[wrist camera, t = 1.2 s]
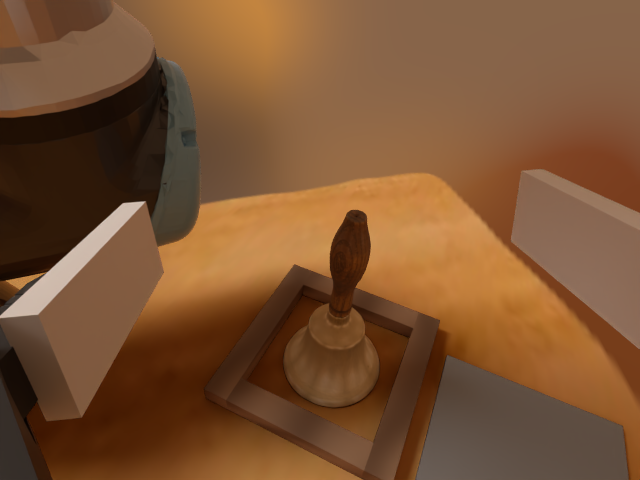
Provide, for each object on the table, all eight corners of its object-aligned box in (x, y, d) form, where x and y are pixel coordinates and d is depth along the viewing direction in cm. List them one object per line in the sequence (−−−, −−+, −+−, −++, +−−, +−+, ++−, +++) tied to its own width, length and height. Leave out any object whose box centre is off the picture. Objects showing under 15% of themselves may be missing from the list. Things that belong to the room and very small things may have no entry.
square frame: (206, 398, 32) (203, 388, 31) (294, 274, 42) (294, 264, 41) (388, 492, 28) (392, 484, 27) (435, 330, 38) (440, 320, 37)
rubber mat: (403, 527, 27) (404, 525, 26) (446, 357, 36) (447, 355, 36) (644, 655, 23) (648, 655, 23) (620, 428, 33) (622, 426, 32)
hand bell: (289, 318, 38) (294, 173, 28) (377, 326, 38) (415, 185, 28) (276, 403, 32) (276, 259, 21) (381, 413, 32) (433, 274, 21)
